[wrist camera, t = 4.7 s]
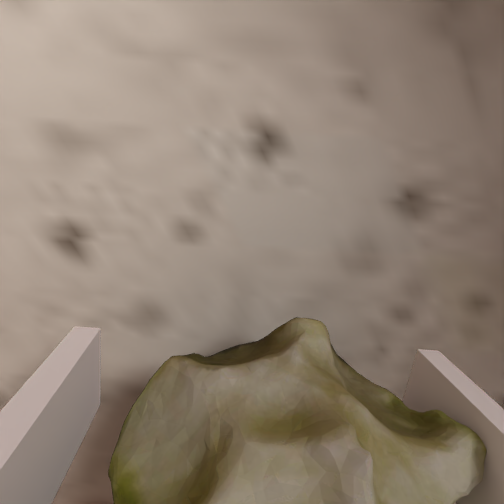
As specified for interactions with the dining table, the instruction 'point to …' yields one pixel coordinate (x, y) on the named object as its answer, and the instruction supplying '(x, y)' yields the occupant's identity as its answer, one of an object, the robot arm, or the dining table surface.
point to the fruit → (286, 433)
